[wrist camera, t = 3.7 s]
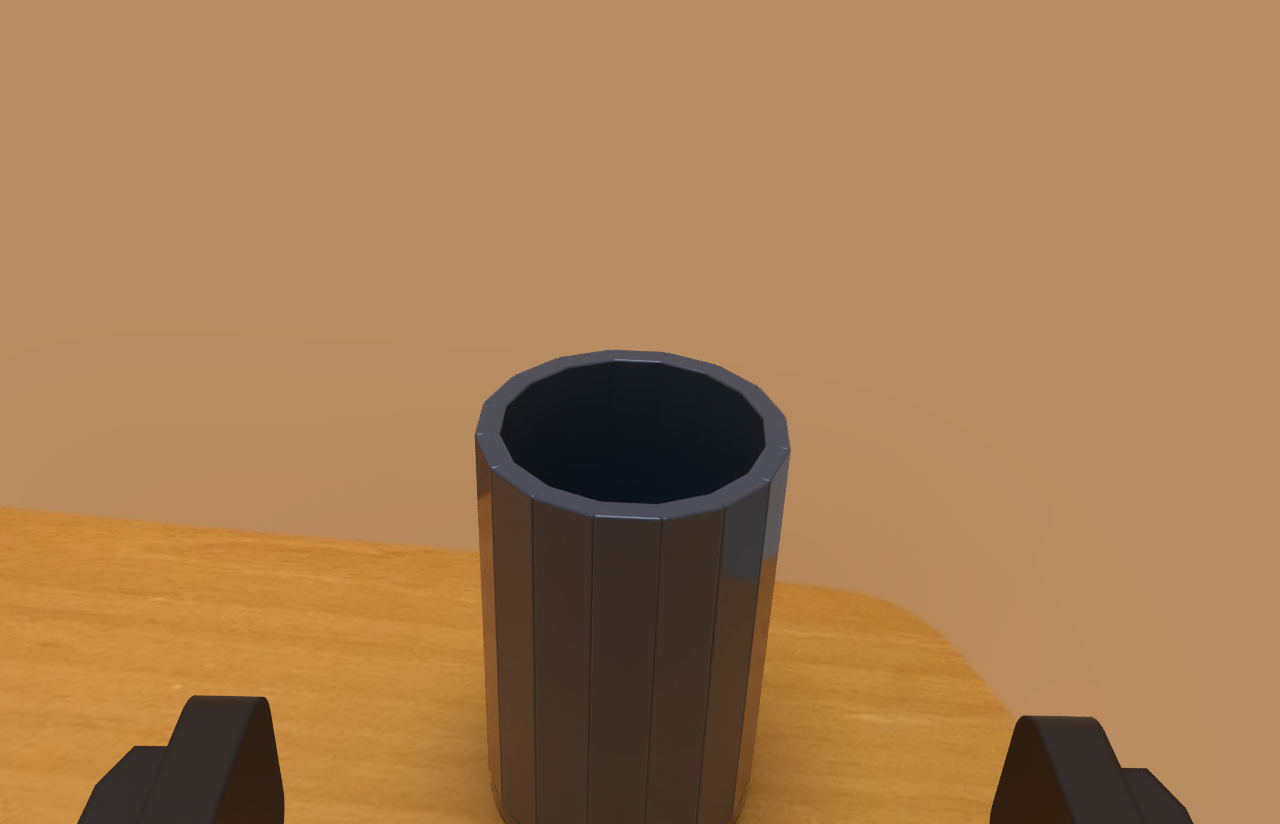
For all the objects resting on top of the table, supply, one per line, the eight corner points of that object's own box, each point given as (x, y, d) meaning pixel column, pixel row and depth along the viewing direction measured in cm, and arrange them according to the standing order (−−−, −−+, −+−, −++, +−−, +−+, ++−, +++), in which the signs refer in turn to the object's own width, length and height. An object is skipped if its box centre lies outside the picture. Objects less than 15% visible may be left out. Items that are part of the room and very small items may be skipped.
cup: (781, 727, 31) (827, 391, 25) (689, 921, 26) (723, 555, 21) (564, 651, 33) (566, 326, 27) (441, 819, 28) (415, 462, 23)
